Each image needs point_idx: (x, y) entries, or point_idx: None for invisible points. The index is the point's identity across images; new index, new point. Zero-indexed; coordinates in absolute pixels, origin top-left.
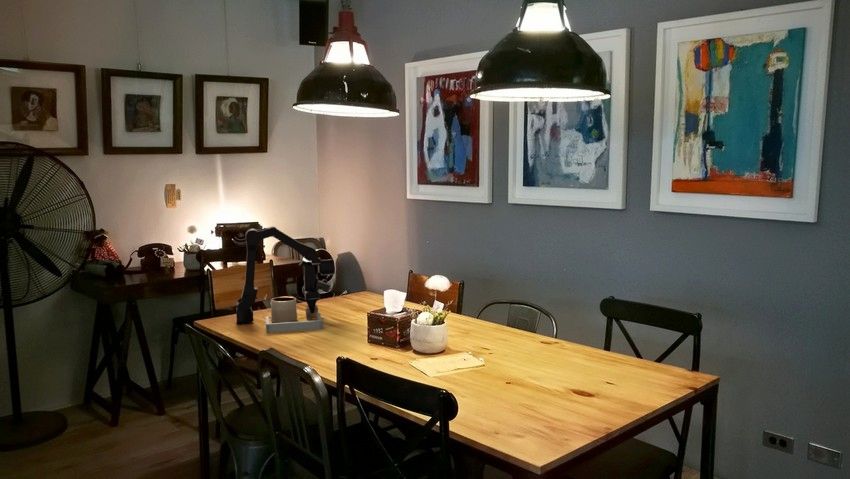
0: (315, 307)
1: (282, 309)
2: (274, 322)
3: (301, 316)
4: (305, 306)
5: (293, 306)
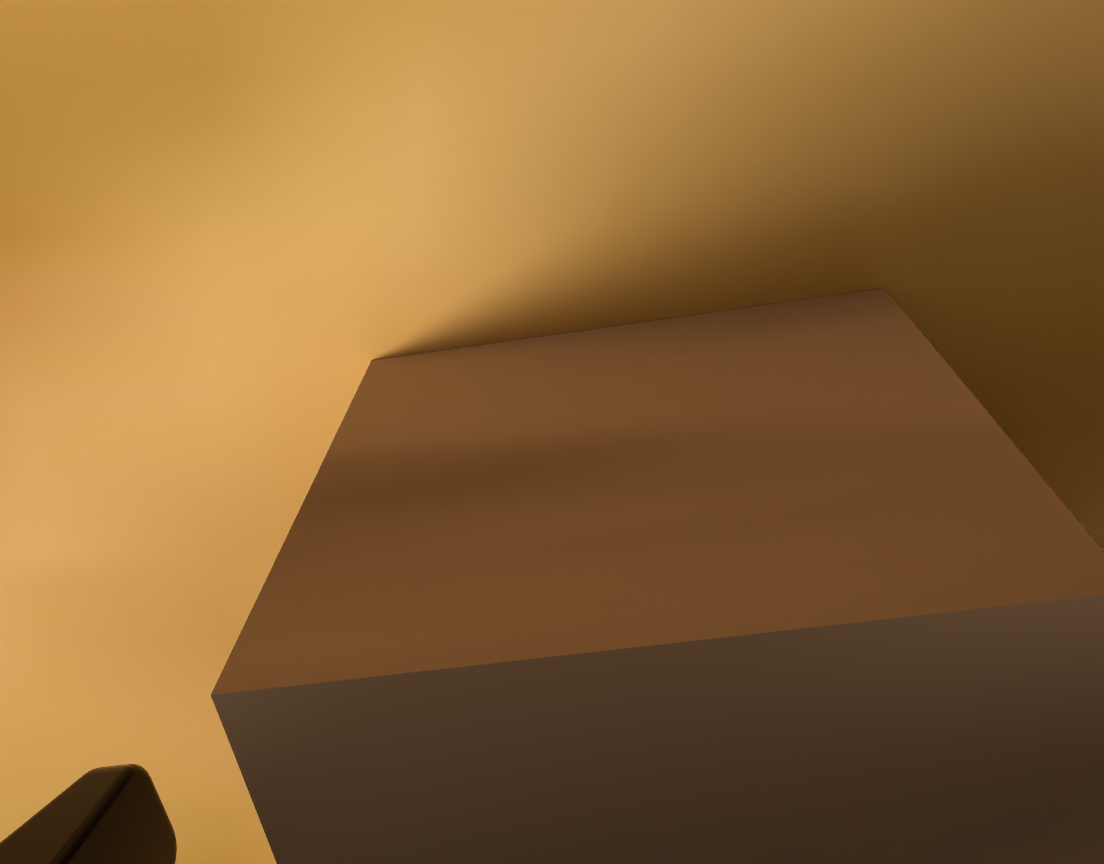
0: (1025, 749)
1: None
2: None
3: None
4: None
5: None
